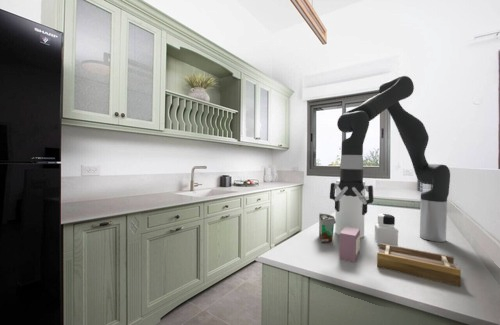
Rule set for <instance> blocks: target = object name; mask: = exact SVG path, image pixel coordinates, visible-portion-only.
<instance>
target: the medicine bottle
mask: <svg viewBox="0 0 500 325" xmlns="http://www.w3.org/2000/svg"><path fill="white" fill-rule="evenodd" d="M395 224H396V219H395V216H394V215H391V214H387V213H380V214H378V215H377V223H375V224H374V241H375V242H376V244H377V245H378V246H380V243H383V244H388V245H393V246H399V230H398V228H396V226H395Z"/></svg>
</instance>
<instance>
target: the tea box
mask: <svg viewBox="0 0 500 325" xmlns="http://www.w3.org/2000/svg"><path fill="white" fill-rule="evenodd" d="M360 247H361V238H360V229H359V228H353V227H347V226H346V227H345V228H344V229H343V230H342V231H341V232H340V235H339V248H338V252H339V253H338V254H339V257H338V259H339V260H344V261H349V262H352V263H356V260H357V259H358V258H359V255H360V249H361V248H360Z"/></svg>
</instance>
